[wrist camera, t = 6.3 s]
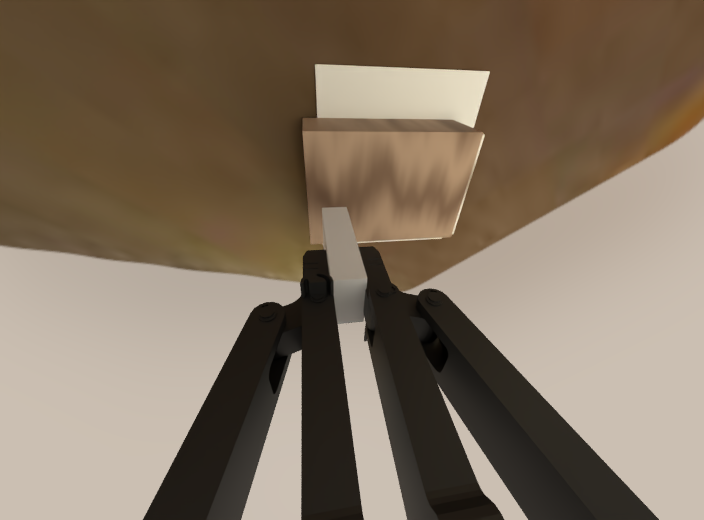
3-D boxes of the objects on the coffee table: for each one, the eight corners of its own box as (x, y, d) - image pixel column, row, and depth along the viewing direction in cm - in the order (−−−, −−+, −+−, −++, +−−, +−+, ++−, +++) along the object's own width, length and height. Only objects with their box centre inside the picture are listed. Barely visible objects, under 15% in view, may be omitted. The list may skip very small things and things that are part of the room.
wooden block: (302, 131, 17) (487, 132, 19) (302, 117, 21) (455, 119, 23) (310, 244, 23) (453, 236, 25) (309, 217, 27) (433, 212, 28)
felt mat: (315, 64, 20) (315, 64, 19) (485, 71, 22) (489, 71, 21) (322, 241, 29) (322, 244, 29) (439, 235, 31) (441, 238, 31)
